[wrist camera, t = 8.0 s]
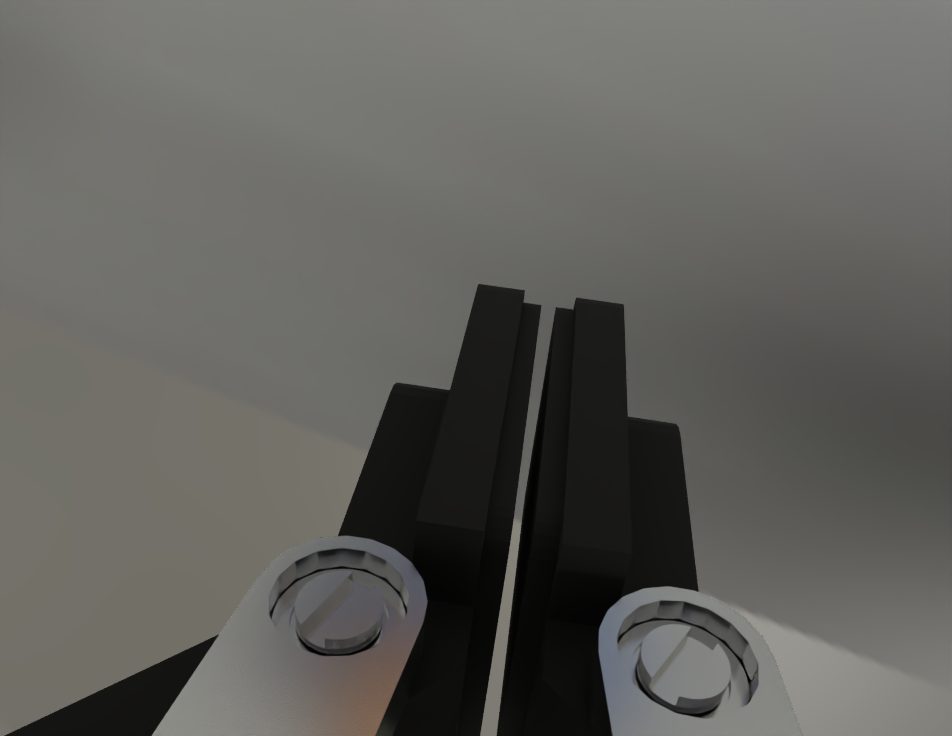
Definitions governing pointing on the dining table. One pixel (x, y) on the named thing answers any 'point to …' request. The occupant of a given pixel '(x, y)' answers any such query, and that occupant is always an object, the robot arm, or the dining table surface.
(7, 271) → the dining table surface
